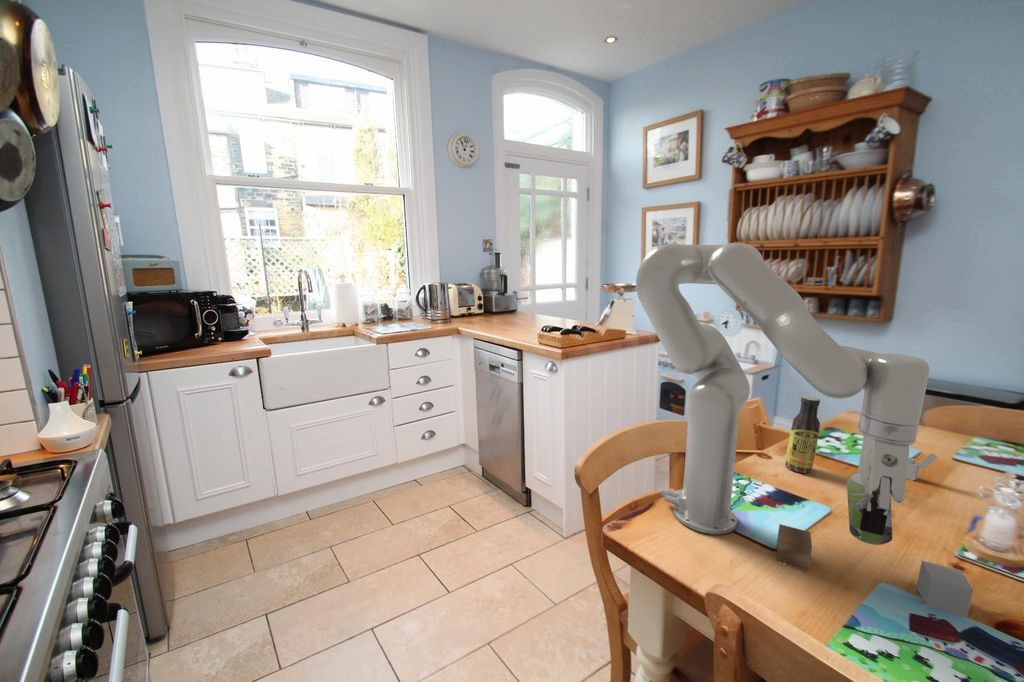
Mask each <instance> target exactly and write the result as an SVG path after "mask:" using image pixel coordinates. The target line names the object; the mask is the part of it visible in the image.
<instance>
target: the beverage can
mask: <svg viewBox="0 0 1024 682" xmlns="http://www.w3.org/2000/svg"><path fill="white" fill-rule="evenodd" d="M846 491H847V509H848V510H847V511H848V525H849V526H848V527H849V528H848V529H849V533H850V534H851V536H853V537H854V538H856V539H857V540H859V541H860V542H862V543H864V544H868V545H873V546H882V545H885V544H887V543H890V542H891V541H892V540H893V522H892V521H893V518H892V494H890V501H889V510H888V514H887V520H886V525H885V530H884V535H877V534H873V533H869V532H865V531H862V530H861V529H860V523H861V518H862V512H863V508H866V502H867V494H866V493H865V491H864V488H863V484H862V481H861V478H860V475H859V472H858V471H857V472H854V473H852V474H851V475H850V478H849V479H847V482H846ZM873 493H876V494H878V492H876V491H873ZM874 501H876V502H877V501H878V499H875V498H873V499H872V503H873V502H874Z"/></svg>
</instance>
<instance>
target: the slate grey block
mask: <svg viewBox="0 0 1024 682" xmlns="http://www.w3.org/2000/svg"><path fill="white" fill-rule="evenodd" d="M916 587H917V589H918V591H919V594H920V597H921V599H922V600H923V603H924V606H927V607H931V608H933V609H937V610H941V611H945V612H948V613H951V614H954V615H958V616H961V617H964V618H968V615H969V610H970V605H971V600H972V596H973V592H974V589H973V586H971V584H970V582H969V581H968V579H967V577H966V575H965V574H964V572H963V571H962V570H960V569H957V568H953V567H949V566H944V565H941V564H937V563H934V562H933V563H932V562H929V561H926V560H921V564H920V569H919V573H918V579H917V583H916Z"/></svg>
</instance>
